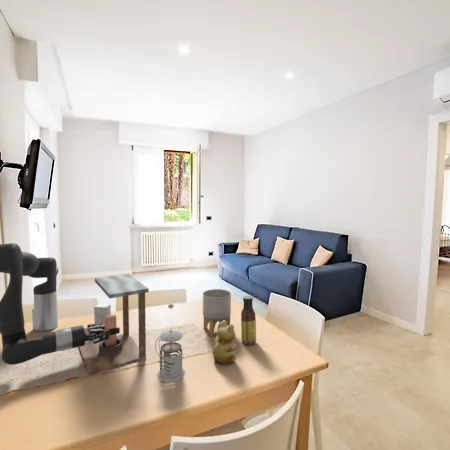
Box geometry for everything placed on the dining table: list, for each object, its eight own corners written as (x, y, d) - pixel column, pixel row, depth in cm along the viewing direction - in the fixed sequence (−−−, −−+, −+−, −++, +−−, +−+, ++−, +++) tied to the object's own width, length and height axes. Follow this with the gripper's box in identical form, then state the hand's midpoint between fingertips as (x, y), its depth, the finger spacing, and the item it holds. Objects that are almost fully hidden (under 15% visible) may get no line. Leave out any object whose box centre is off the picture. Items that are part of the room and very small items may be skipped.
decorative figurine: (240, 361, 112) (240, 323, 111) (224, 370, 106) (225, 329, 105) (222, 352, 119) (222, 315, 117) (206, 360, 113) (206, 321, 111)
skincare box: (111, 329, 139) (111, 304, 138) (107, 333, 135) (106, 307, 134) (99, 328, 139) (98, 303, 138) (94, 332, 135) (93, 306, 134)
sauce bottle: (257, 340, 129) (258, 295, 127) (254, 347, 123) (254, 300, 122) (242, 338, 131) (243, 294, 130) (238, 344, 125) (239, 298, 124)
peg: (102, 348, 116) (102, 319, 115) (108, 343, 120) (107, 314, 119) (113, 349, 115) (113, 319, 114) (118, 344, 120) (118, 315, 119)
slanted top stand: (89, 376, 102) (87, 298, 99) (78, 345, 123) (76, 280, 121) (149, 358, 113) (148, 288, 111) (129, 333, 135) (128, 274, 133)
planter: (197, 333, 135) (198, 295, 134) (209, 323, 147) (210, 287, 146) (224, 339, 130) (224, 299, 129) (234, 327, 142) (234, 291, 141)
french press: (172, 385, 97) (171, 311, 95) (147, 374, 103) (146, 304, 101) (191, 371, 105) (191, 302, 103) (166, 361, 111) (166, 296, 109)
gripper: (72, 335, 103) (122, 324, 112) (67, 321, 115) (113, 313, 124) (72, 356, 103) (122, 344, 113) (67, 340, 115) (113, 330, 125)
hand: (117, 327), depth 119 cm, fingers closed on peg, 4 cm apart
